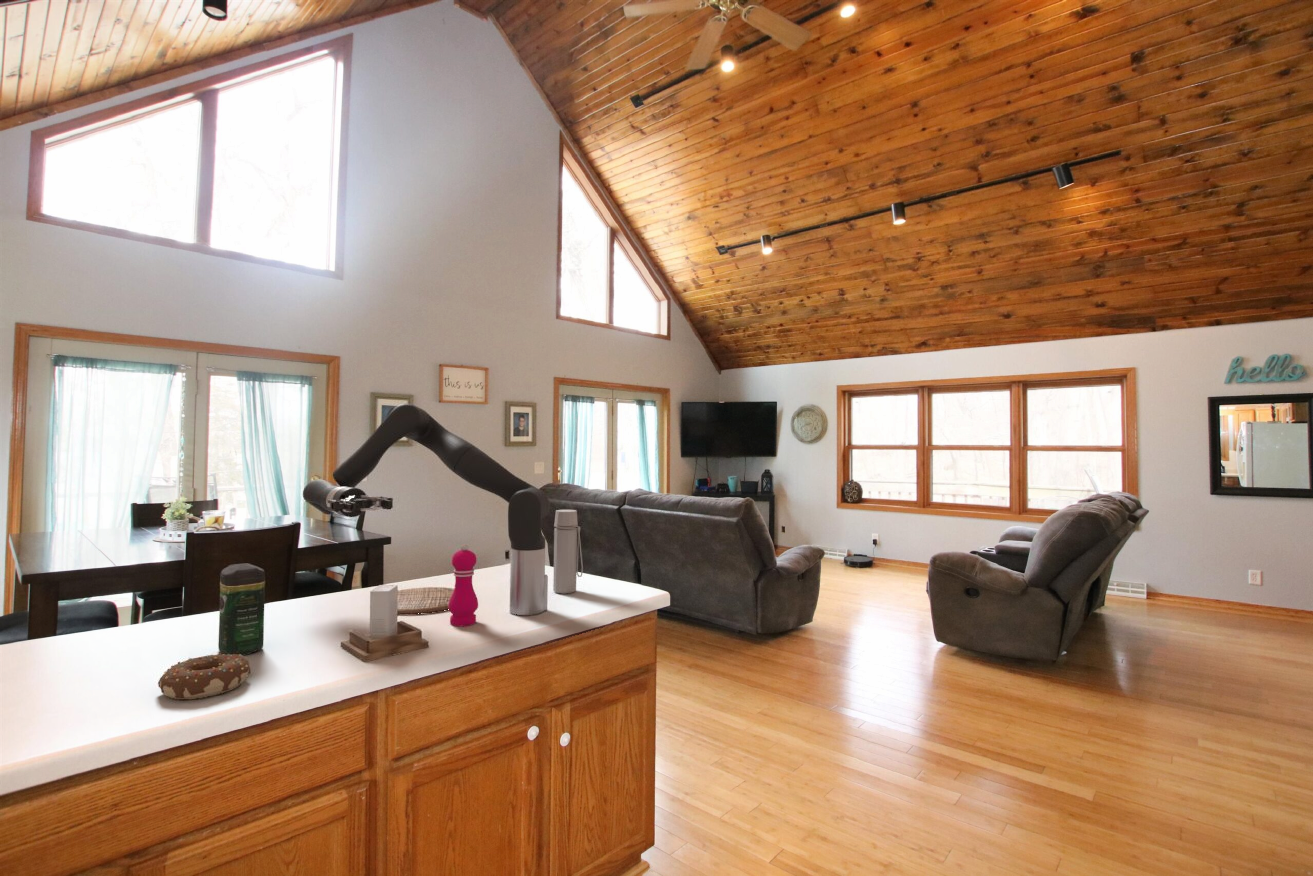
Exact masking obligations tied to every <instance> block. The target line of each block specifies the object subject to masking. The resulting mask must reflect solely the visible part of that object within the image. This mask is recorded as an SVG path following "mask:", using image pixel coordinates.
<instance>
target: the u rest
mask: <svg viewBox="0 0 1313 876" xmlns="http://www.w3.org/2000/svg"><path fill="white" fill-rule="evenodd" d="M348 634H349V637H348V638H349V639H348V640H342V641H341V642H340V648H341V647H342V648H341V649H343V650H344V651H346V650H347V652H348V653H349V652H350V653H349V654H351V655H352V656H355V657H356V658H358V659H359V660H361V661H362V662H365V663H366V662H370V661H374V660H378V659H382V658H386V657H391V656H395V655H394V654H396V655H399V654H398V653H400V654H403V653H402V652H404V653H407V652H411V651H417V650H421V649H424V648H429V641H428V640H426V639H424V638H423V631H422V630H421V628H418V627H416V626H414V625H412V624H410V623H407V622H405V621H403V620H399V621H397V635H392V636H388V637H383V638H378V639H374V640H372V639H371V638H370V635H365V634H363V633H362V632H360V631H358V630H357V629H354V630H350V631H349V633H348ZM416 649H417V650H416ZM390 655H391V656H390Z"/></svg>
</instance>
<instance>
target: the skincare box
mask: <svg viewBox="0 0 1313 876" xmlns="http://www.w3.org/2000/svg"><path fill="white" fill-rule="evenodd" d="M398 586H399V585H398V584H379V585H378V586H377V587H375V588H373V589H372V590H371V591H370V592H369V593H370V594H369V595H370V596H369V599H370V601H369V636H370V638H371V639H372V640H374V639H378V638H383V637H388V636H392V635H397V622H398V614H397V603H398V591H399V589H398V588H399V587H398Z"/></svg>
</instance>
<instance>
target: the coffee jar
mask: <svg viewBox="0 0 1313 876" xmlns="http://www.w3.org/2000/svg"><path fill="white" fill-rule="evenodd" d="M219 575H220V579H219V622H218V643H217V645H218V650H219V652H220V653H221V654H225V655H227V654H238V655H239V654H241V656H246V654H247V655H250V654H252V653H254V652H257V651H261V650H263V647H264V636H265V634H264V633H265V631H264V629H265V628H264V627H265V592H266V588H265V587H266V572H265V570H264V568H261V567H259V566H257V565H254V564H252V563H249V562H248V563H247V562H246V563H237V564H236V563H234V564H229V565H227V567H225V568H223V569H222V570H221V572H220V574H219Z"/></svg>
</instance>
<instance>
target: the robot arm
mask: <svg viewBox="0 0 1313 876" xmlns="http://www.w3.org/2000/svg"><path fill="white" fill-rule="evenodd" d="M403 438H406V439H410V440H411V441H414V442H416V443H418V444H419V445H422V446H423V447H425V448H426V449H428V450H430V451H431V452H433V453H434V454H435V455H436V456H437V457H438V458H439V459H440V461H441V462H442V463H443V464H444V465H445V466H446V467H447V468H448V469H449V470H450V471H451V472H452V473H454V474H456V475H457V476H458V477H460V478H461V479H462V480H464V481H465V482H467V483H469V484H470V485H473V486H474V487H477V488H478V489H481V490H484V491H487V492H488V493H492V494H493V495H495V496H498V497H500V498H502V499H503V500H504V501H506V502H507V503H508V506H507V507H508V508H507V529H508V531H507V532H508V537H509V538H508V539H509V541H510V569H509V570H510V579H509V613H510V614H512V615H516V614H517V615H516V616H533V614H534V615H538V614H542V613H543V612H545V611H548V593H549V592H548V589H549V588H548V581H549V579H548V578H549V577H548V574H546V569H545V568H546V537H545V536H544V535H543V532H542V519H544V518H545V517H546V516H547V515H548V513H549V511H550V508H551V507H550V506H551V504H550V500H549V497H548V496H547V495H546V493H545V492H544V491H542V490H541V489H540V488H538V487H536V486H534V485H533V484H530V483H528V482H527V481H525V480H523V479H521V478H520V477H518V476H516V475H514V474H513V473H512V472H510V471H509V470H508V469H507V468H505V467H504V466H503V465H501V463H499V462H497V461H496V460H494V459H493V458H492V457H491V456H489V455H488V454H487V453H485V452H484V451H483V450H481V449H479V448H478V447H477V446H475V445H474V444H472V443H471V442H469V441H467V440H466V439H464V438H462V437H460V436H458V435H456V434H454V433H452V432H451V431H449V430H448V429H447V428H446V427H444V426H443V425H442V424H440V423H439V422H438V421H437V420H435V419H434V418H433V416H431V415H430V414H429V413H428V412H427V411H425V410H424V409H423V408H421V407H419V406H416V405H414V404H412V403H401V404H398V405H397V406H395V407H394V408H393V409H392V410H391V411H390V412H389V414H388V415H387V416H386V417H385V418H384V420H383V421H382V422H381V423H380V424H379V426H378V427H377V428H376V429H375V430H374V431H373V432H372V434H371V435H370V436H369V437H368V439H367V440H365V442H364V443H362V445H361V446H360V447H358V449H356V451H354V452H353V453H352V454H351V455H350V456H349V457H348V458H346V460H344V461H343V462H341V464H340V465H338V466H337V467H336V468H335V469H334V470H333V472H332V477H333V479H334V482H336V484H338V486H337V485H335V484H333V483H331V482H329V481H328V480H324V479H320V478H319V479H318V478H317V479H314V480H312V481H310V482H309V483H307V484H306V485H305V487H304V488H303V490H302V498H303V499H304V500H305V502H306V503H308V504H309V505H311V506H313V507H314V508H316V509H317V510H318V511H319V512H321V513H322V514H325V515H333V514H335V515H339V516H344V517H347V518H356V517H359V516H360V515H362V514H364V512H367V511H368V512H369V511H378V510H381V509H383V510H392V509H393V508H394V506H393V504H394V503H393V502H394V498H393V497H387V496H374V495H373V496H372V495H371V496H369V495H367V493H366V492H365V491H364V490H362V489H361V488H358V487H357V485H359V484H360V483H361V482H362V481H363V480H365V479H366V478H367V477H368V476H369V475H370V474H371V473H372V472H373V471H374V469H375V468H376V467H377V466H378V464H379V462H380V461H381V459H382V457H383V456H384V455H385V453H386V452H387V450H389V449H390V448H391V447H392V446H393V445H394V444H395V443H397V442H398V441H400V440H401V439H403Z"/></svg>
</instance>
